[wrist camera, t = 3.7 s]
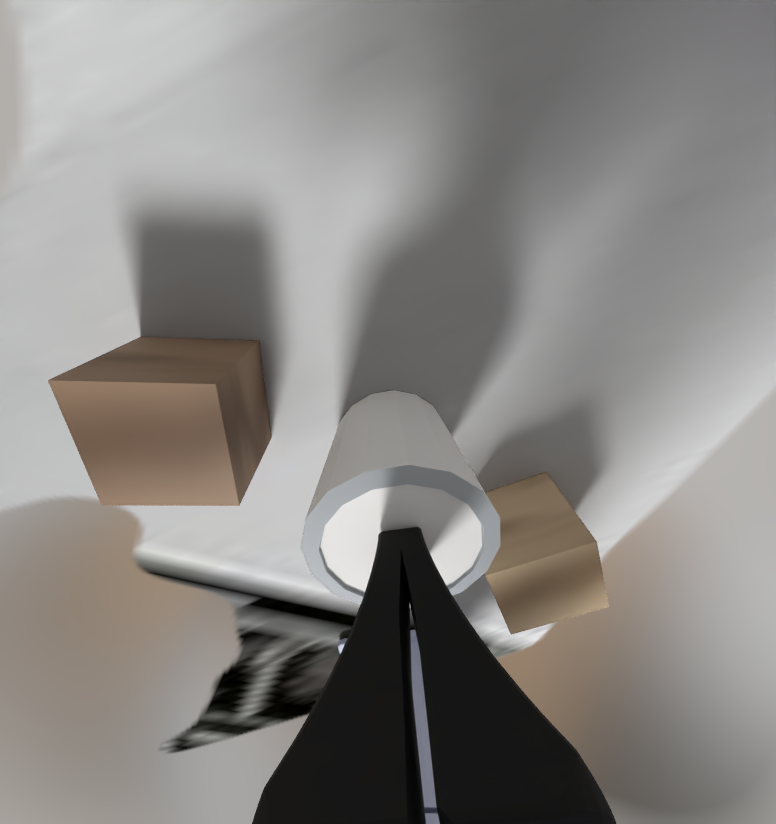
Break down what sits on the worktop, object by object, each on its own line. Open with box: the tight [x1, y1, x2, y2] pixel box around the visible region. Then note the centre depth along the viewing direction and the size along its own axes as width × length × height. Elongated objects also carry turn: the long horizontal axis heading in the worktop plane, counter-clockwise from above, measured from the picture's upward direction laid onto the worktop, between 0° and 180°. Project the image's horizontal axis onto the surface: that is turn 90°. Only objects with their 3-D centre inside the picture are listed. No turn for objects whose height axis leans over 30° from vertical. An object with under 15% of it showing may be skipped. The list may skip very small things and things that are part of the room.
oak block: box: [485, 472, 609, 634], centre depth 19 cm, size 5×5×5 cm
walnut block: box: [48, 337, 271, 506], centre depth 14 cm, size 5×5×5 cm
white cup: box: [301, 390, 500, 608], centre depth 15 cm, size 7×7×7 cm
